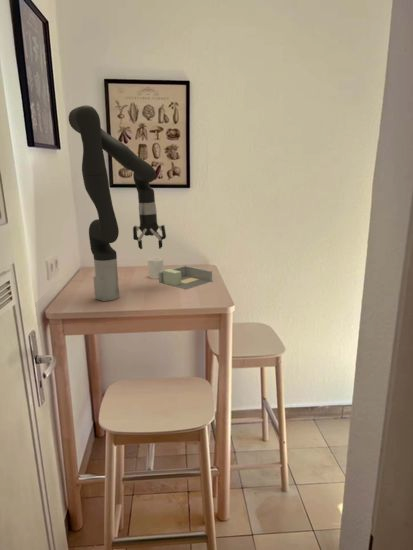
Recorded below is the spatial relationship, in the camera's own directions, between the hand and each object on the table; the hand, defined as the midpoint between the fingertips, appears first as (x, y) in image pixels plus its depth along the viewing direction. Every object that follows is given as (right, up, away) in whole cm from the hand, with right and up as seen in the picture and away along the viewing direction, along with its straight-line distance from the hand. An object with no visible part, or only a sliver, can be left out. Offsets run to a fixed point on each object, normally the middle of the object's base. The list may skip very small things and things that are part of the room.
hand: (150, 248), depth 171 cm
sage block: (+9, -16, +9) cm, 20 cm away
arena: (+15, -16, +12) cm, 25 cm away
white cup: (0, -14, +21) cm, 25 cm away
